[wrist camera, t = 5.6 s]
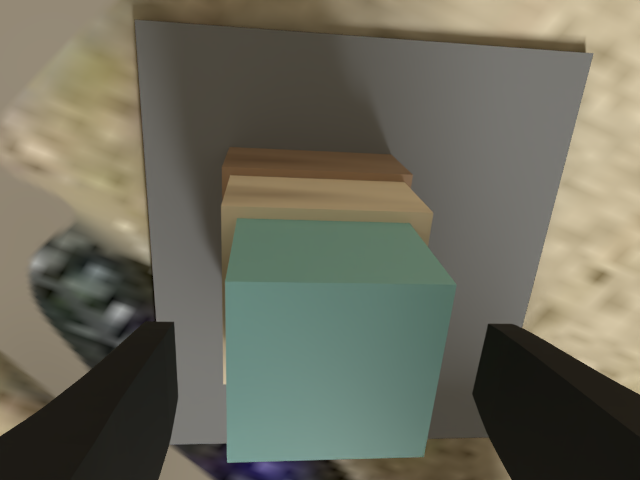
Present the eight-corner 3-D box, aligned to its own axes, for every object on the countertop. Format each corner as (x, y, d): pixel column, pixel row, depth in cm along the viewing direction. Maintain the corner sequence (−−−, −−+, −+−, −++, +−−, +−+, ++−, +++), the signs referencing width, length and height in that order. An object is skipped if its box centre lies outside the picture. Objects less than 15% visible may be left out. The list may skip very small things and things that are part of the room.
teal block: (389, 364, 14) (423, 456, 11) (236, 365, 14) (227, 462, 11) (409, 222, 13) (456, 284, 10) (237, 218, 12) (224, 281, 9)
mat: (490, 431, 25) (493, 437, 24) (166, 438, 23) (165, 444, 22) (586, 53, 18) (593, 53, 17) (137, 20, 16) (134, 19, 16)
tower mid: (384, 328, 18) (406, 382, 15) (231, 328, 17) (223, 384, 14) (404, 181, 15) (433, 212, 13) (230, 175, 15) (220, 205, 12)
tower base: (374, 295, 20) (390, 334, 18) (230, 293, 20) (223, 334, 17) (391, 154, 18) (413, 174, 15) (229, 146, 17) (221, 166, 15)
